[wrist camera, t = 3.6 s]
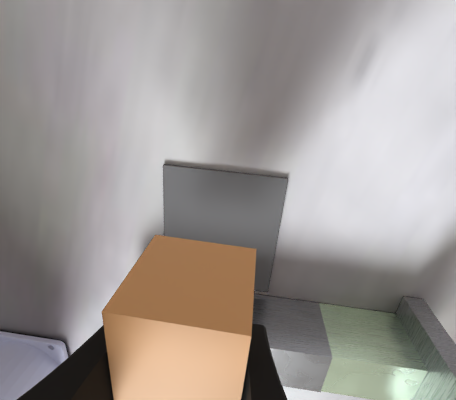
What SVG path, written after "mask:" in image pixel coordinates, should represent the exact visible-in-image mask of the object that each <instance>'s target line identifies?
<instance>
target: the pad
mask: <svg viewBox="0 0 456 400" xmlns="http://www.w3.org/2000/svg"><path fill="white" fill-rule="evenodd" d="M287 183H288V178H282V177H273V176H264V175H255V174H246V173H237V172H228V171H219V170H210V169H201V168H193V167H184V166H175V165H166V164H164V165H163V196H164V236H168V237H175V238H182V239H190V240H197V241H204V242H211V243H218V244H225V245H232V246H240V247H247V248H254V249H256V265H255V283H254V290H256V291H264V292H268V288H269V283H270V277H271V271H272V266H273V260H274V255H275V249H276V244H277V238H278V233H279V227H280V222H281V216H282V211H283V205H284V199H285V194H286V188H287Z"/></svg>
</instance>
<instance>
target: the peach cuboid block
mask: <svg viewBox="0 0 456 400" xmlns="http://www.w3.org/2000/svg"><path fill="white" fill-rule="evenodd" d="M255 265H256V249H254V248H247V247H240V246H232V245H225V244H218V243H211V242H204V241H197V240H190V239H182V238H175V237H168V236H161V235H155V236H154V238H153V239H152V240H151V242H150V243H149V245H148V246H147V248H146V249H145V250H144V252H143V253H142V255H141V256H140V258H139V259H138V260H137V262H136V263H135V265H134V266H133V268H132V269H131V271H130V272H129V273H128V275H127V276H126V278H125V279H124V281H123V282H122V283H121V285H120V286H119V288H118V289H117V291H116V292H115V293H114V295H113V296H112V298H111V299H110V301H109V302H108V303H107V305H106V306H105V308H104V309H103V311H102V317H103V324H104V332H105V339H106V346H107V354H108V361H109V369H110V376H111V383H112V391H113V398H114V400H241V396H242V390H243V384H244V378H245V372H246V366H247V360H248V354H249V348H250V342H251V335H252V318H253V300H254V283H255Z"/></svg>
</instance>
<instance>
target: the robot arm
mask: <svg viewBox="0 0 456 400" xmlns="http://www.w3.org/2000/svg"><path fill="white" fill-rule="evenodd" d="M0 400H114V398H113V391H112V383H111V376H110V369H109V361H108V354H107V346H106V339H105V332H104V325H103V326H102V327H101V328H100V329H99V330H98V331H97V332H96V333H95V334H94V335H93V336H91V337H90V338H89V339H88V340H87V341H86V342H85V343H84V344H83V345H82V346H81V347H79V348H78V349H77V350H76V351H75V352H74V353H73V354H72V355H71V356H70V357H68V354H67V350H66V346H65V344H64V343H63V342H62V341H59V340H53V339H47V338H40V337H34V336H28V335H21V334H15V333H9V332H2V331H0ZM241 400H287V398H286V395H285V392H284V390H283V387H282V384H281V381H280V378H279V375H278V373H277V370H276V366H275V363H274V360H273V357H272V353H271V349H270V346H269V342H268V337H267V332H266V327H265V326H264V325H260V324H253V323H252V335H251V342H250V348H249V354H248V360H247V366H246V372H245V378H244V384H243V390H242V396H241Z"/></svg>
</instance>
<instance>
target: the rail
mask: <svg viewBox="0 0 456 400" xmlns="http://www.w3.org/2000/svg"><path fill="white" fill-rule="evenodd" d="M252 323H253V324H260V325H264V326H265V327H266V332H267V337H268V342H269V346H270V349H271V353H272V357H273V360H274V363H275V366H276V370H277V373H278V375H279V378H280V381H281V384H282V386H286V387H292V388H298V389H305V390H311V391H317V392H321V391H323V392H329V393H335V394H341V395H348V396H354V397H360V398H366V399H373V400H456V344H455V343H454V342H453V340H452V339H451V337H450V336H449V335H448V333H447V332H446V330H445V329H444V328H443V326H442V325H441V323H440V322H439V321H438V319H437V318H436V316H435V315H434V314H433V312H432V311H431V309H430V308H429V307H428V305H427V304H426V302H425V301H424V300H423V299H420V298H412V297H405V296H403V299H402V301H401V303H400V305H399V308H398V310H397V312H396V314H394V313H387V312H380V311H373V310H366V309H359V308H351V307H344V306H337V305H330V304H323V303H316V302H308V301H301V300H294V299H287V298H280V297H273V296H265V295H258V294H254V300H253V318H252Z"/></svg>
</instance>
